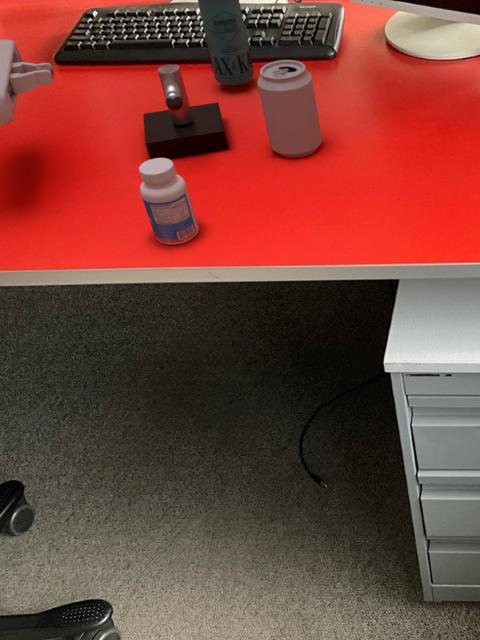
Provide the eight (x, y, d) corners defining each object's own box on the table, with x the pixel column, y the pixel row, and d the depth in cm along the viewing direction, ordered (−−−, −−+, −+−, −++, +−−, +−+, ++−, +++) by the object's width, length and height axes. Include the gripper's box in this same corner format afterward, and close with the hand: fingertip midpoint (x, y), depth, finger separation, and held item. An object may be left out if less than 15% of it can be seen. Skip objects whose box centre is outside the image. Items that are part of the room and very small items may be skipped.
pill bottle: (160, 224, 115) (138, 155, 109) (202, 221, 115) (183, 152, 109) (151, 247, 111) (127, 177, 105) (194, 245, 111) (174, 175, 105)
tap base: (151, 162, 128) (145, 143, 126) (148, 132, 135) (143, 113, 133) (229, 149, 130) (224, 130, 128) (222, 120, 137) (218, 102, 135)
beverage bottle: (210, 85, 147) (178, -43, 134) (246, 74, 150) (219, -53, 137) (228, 98, 143) (197, -33, 130) (265, 86, 146) (239, -43, 133)
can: (333, 141, 131) (320, 61, 123) (304, 164, 126) (289, 82, 118) (290, 132, 134) (275, 53, 126) (260, 154, 129) (243, 73, 121)
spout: (175, 151, 123) (160, 97, 118) (171, 117, 131) (156, 66, 126) (197, 147, 124) (183, 93, 119) (192, 114, 132) (178, 62, 126)
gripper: (-43, 81, 123) (63, 66, 126) (-62, 147, 109) (58, 128, 112) (-63, 35, 119) (47, 21, 122) (-86, 97, 104) (40, 79, 108)
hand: (52, 73), depth 117 cm, fingers closed
